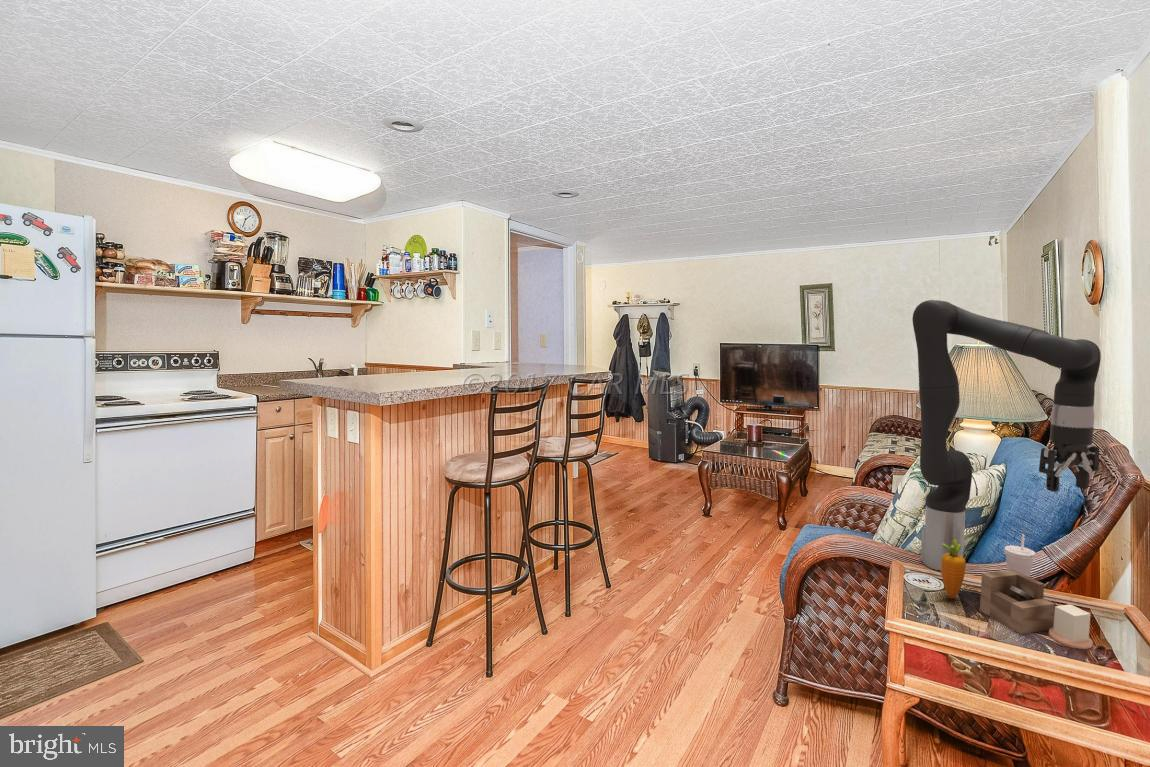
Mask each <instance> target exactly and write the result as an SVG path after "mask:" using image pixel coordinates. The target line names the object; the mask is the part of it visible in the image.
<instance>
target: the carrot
mask: <svg viewBox="0 0 1150 767" xmlns="http://www.w3.org/2000/svg"><path fill="white" fill-rule="evenodd" d="M942 546H944V547H945V548H946V549H947V550H948V551H949V553H946V554H944V555H943V556H942V560H941V569H942V571H941V579H942V583H943V587H944V590H945V592H946V594H947V596H948V597H949V599H951V600H952V599H954V598H955V597H957V595H958V593H960V590H961V588H962V585H963V582H964V579H965V573H966V563H967V562H966V559H965V558H964V556H963V557H961V556H960V555H957V553H958V551H959V550H960V548H961V545H960V544H958V543H957V540H955V539H954V540H953V545H952V546H951V547H950V548H949V547H948V546H947V545H946V544H942Z"/></svg>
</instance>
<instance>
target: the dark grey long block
mask: <svg viewBox="0 0 1150 767" xmlns="http://www.w3.org/2000/svg"><path fill="white" fill-rule="evenodd" d="M1010 590H1012V591H1013V592H1015V593H1017V594H1018V595H1020V596H1021V597H1023V598H1024V599H1026V601H1028V600H1033V597H1032V596H1030V595H1028V594H1027V593H1025V592H1024V591H1022V590H1020V589H1018V588H1016V587H1014V586H1012V585H1011V587H1010ZM1043 599H1045V598H1044V597H1043ZM1045 600H1047V601H1049V600H1048V599H1045ZM1054 604H1055V606H1059V605H1058V604H1056V603H1054ZM1055 606H1054V614H1055Z"/></svg>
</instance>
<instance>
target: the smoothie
mask: <svg viewBox="0 0 1150 767" xmlns="http://www.w3.org/2000/svg"><path fill="white" fill-rule="evenodd" d="M1025 536H1026V535H1025V534H1024V533H1021V545H1020V546H1019V545H1010V544H1009V545H1006V546H1004V548H1003V552H1004V553H1005V559H1006V570H1010V569H1013V570H1015V571H1017V572H1019V573H1021V574H1024V575H1026V576H1028V577H1030V578H1031V571H1032V568H1033V564H1034V559H1036V557H1037V556H1036V555H1037V553H1036V551H1034V550H1033V549H1030V548H1028V547H1025Z"/></svg>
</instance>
